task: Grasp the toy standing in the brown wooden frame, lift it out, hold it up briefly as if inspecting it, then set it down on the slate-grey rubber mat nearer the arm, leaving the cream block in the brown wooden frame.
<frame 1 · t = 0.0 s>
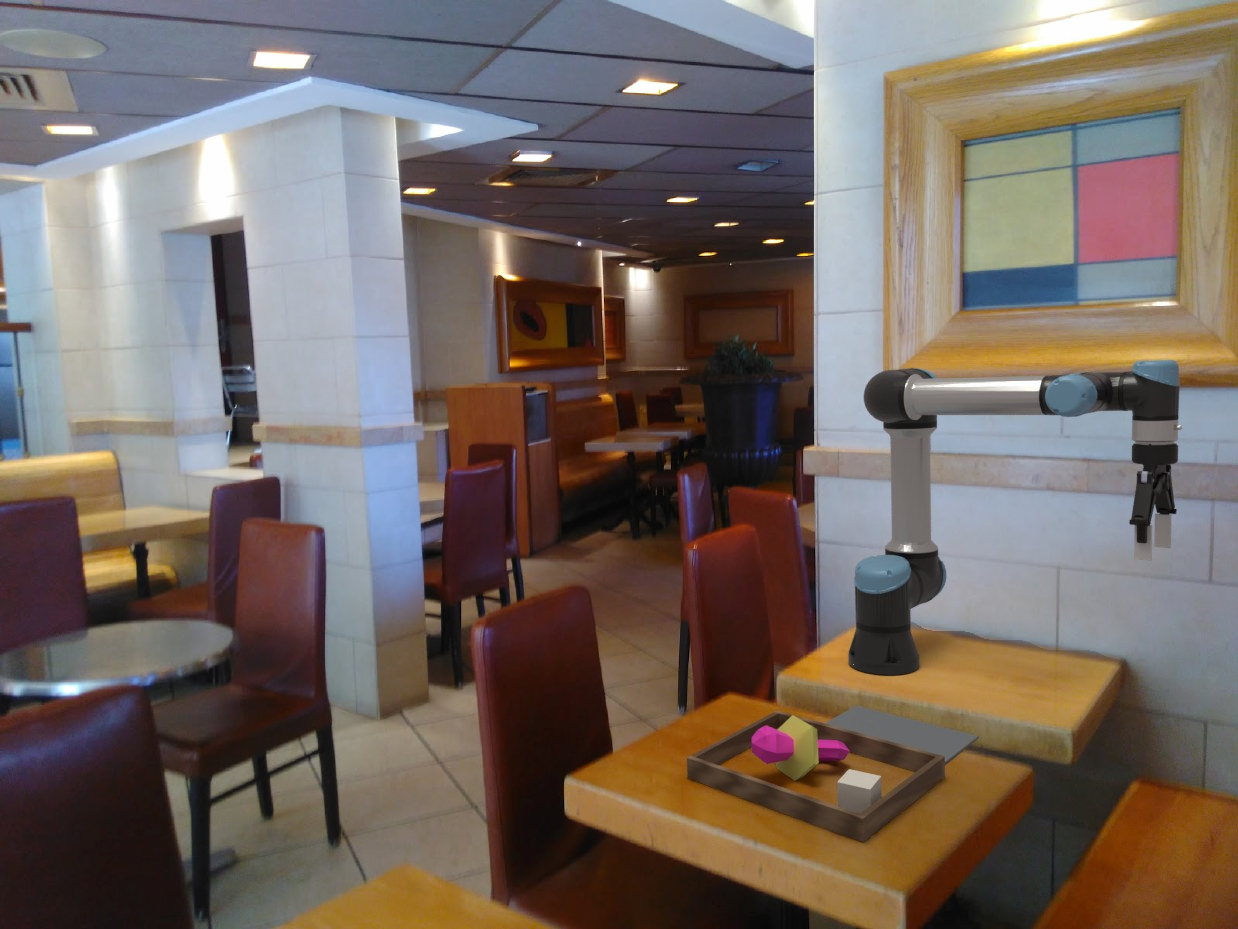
hand: (1153, 553, 172), 28 cm above the table, fingers open, 13 cm apart
cream block: (859, 811, 135), on the table
mat: (891, 737, 161), on the table
brown wooden frame: (814, 777, 147), on the table
toy: (798, 774, 149), on the table
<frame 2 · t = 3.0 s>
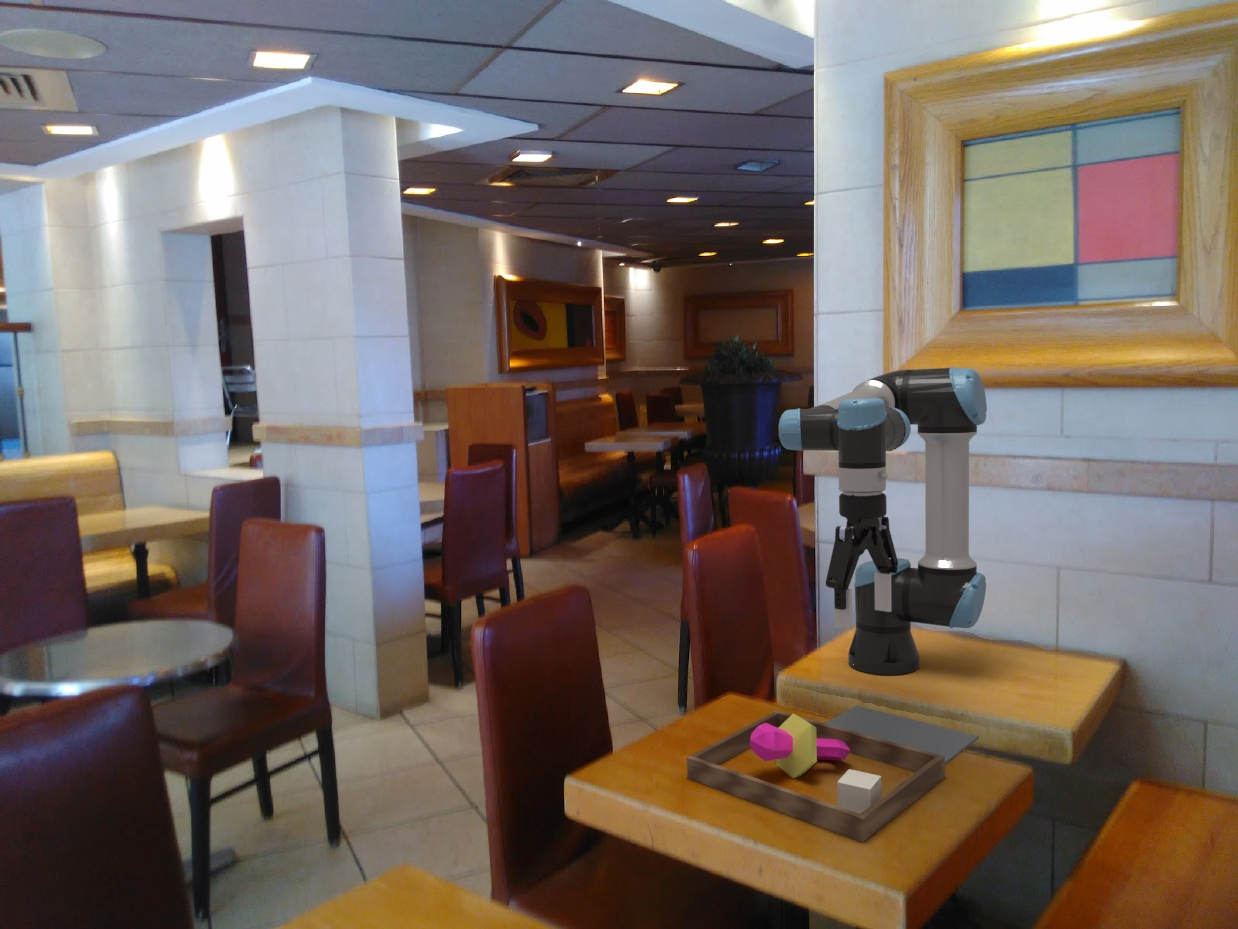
hand: (863, 619, 150), 24 cm above the table, fingers open, 13 cm apart
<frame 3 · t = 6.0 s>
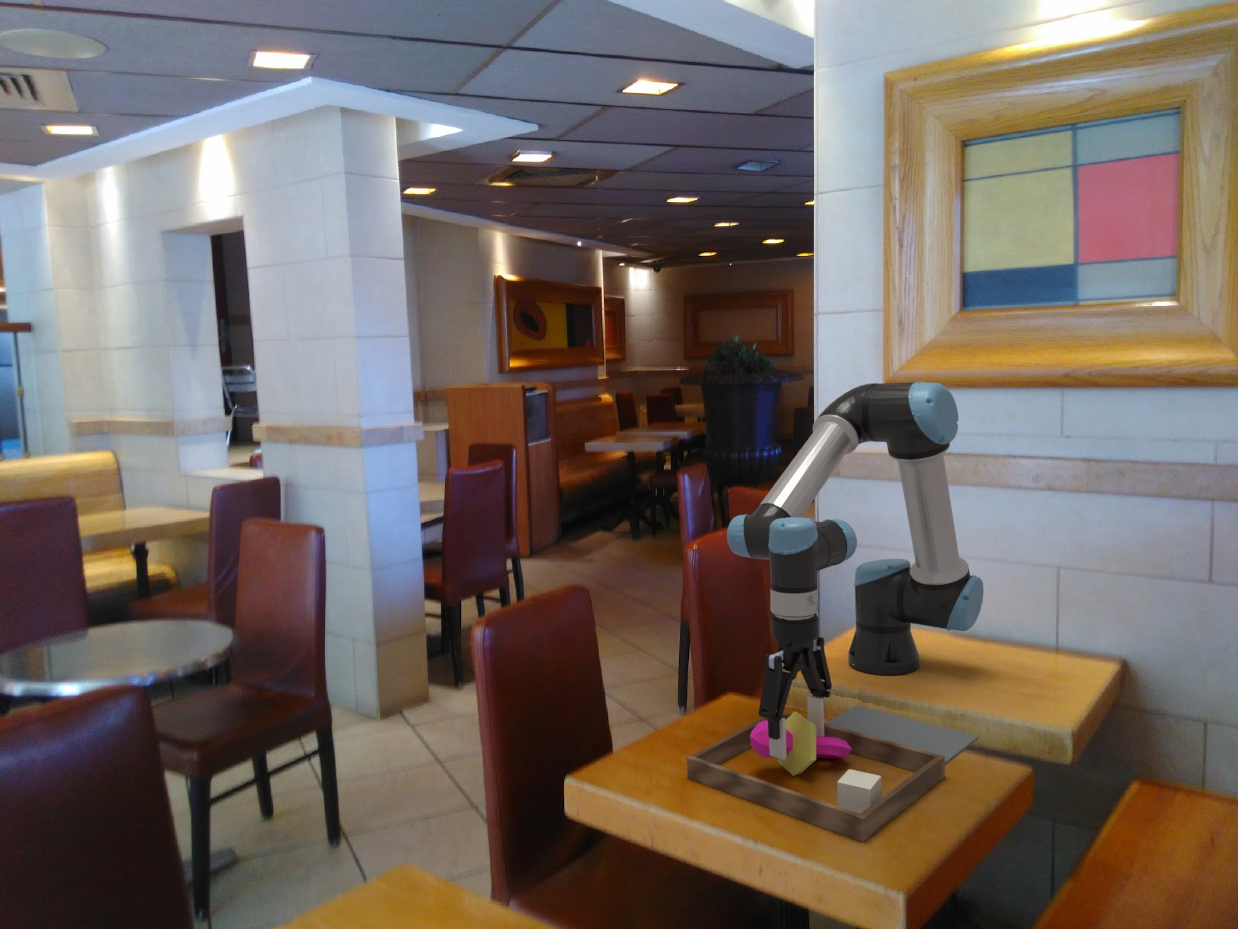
hand: (797, 745, 148), 5 cm above the table, fingers closed on toy, 10 cm apart
toy: (799, 769, 150), on the table, touching gripper
everything else where it was.
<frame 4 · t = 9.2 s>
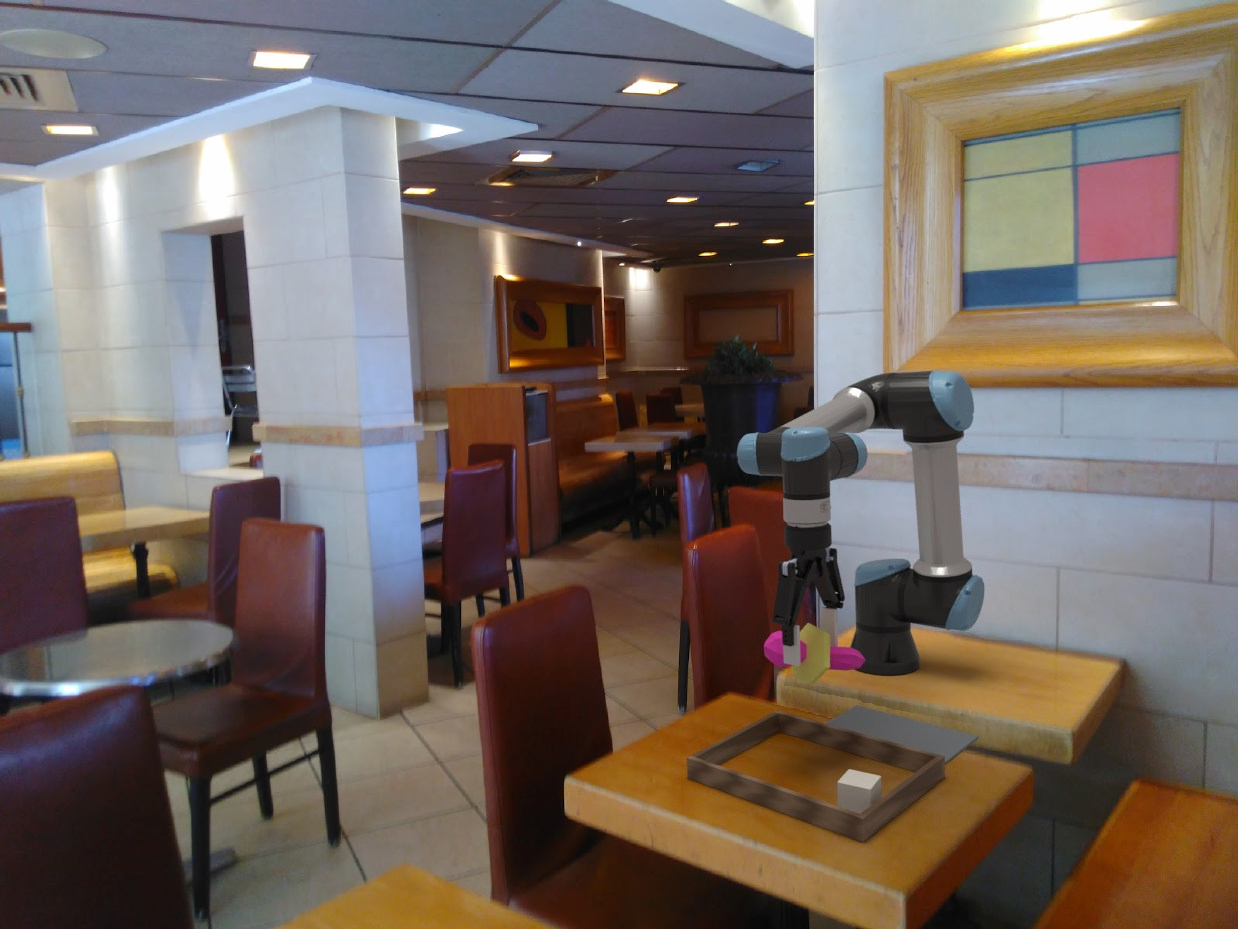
hand: (811, 654, 149), 19 cm above the table, fingers closed on toy, 10 cm apart
toy: (812, 680, 151), point 14 cm above the table, touching gripper
everything else where it was.
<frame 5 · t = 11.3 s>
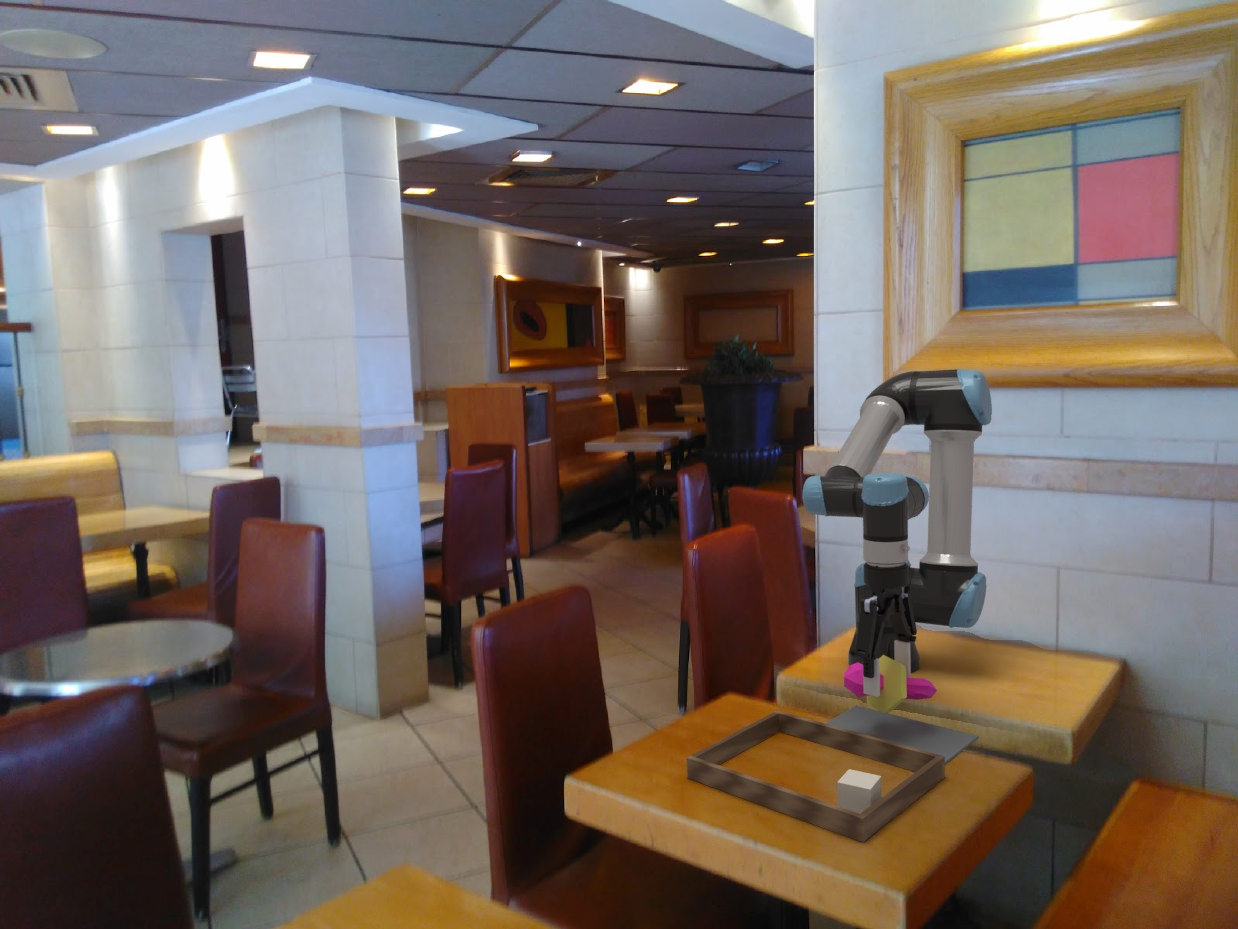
hand: (887, 685, 159), 10 cm above the table, fingers closed on toy, 10 cm apart
toy: (888, 708, 161), point 5 cm above the table, touching gripper
everything else where it was.
when the fingers open (7 cm above the table, at t = 12.5 s): toy drops 2 cm, resting on mat.
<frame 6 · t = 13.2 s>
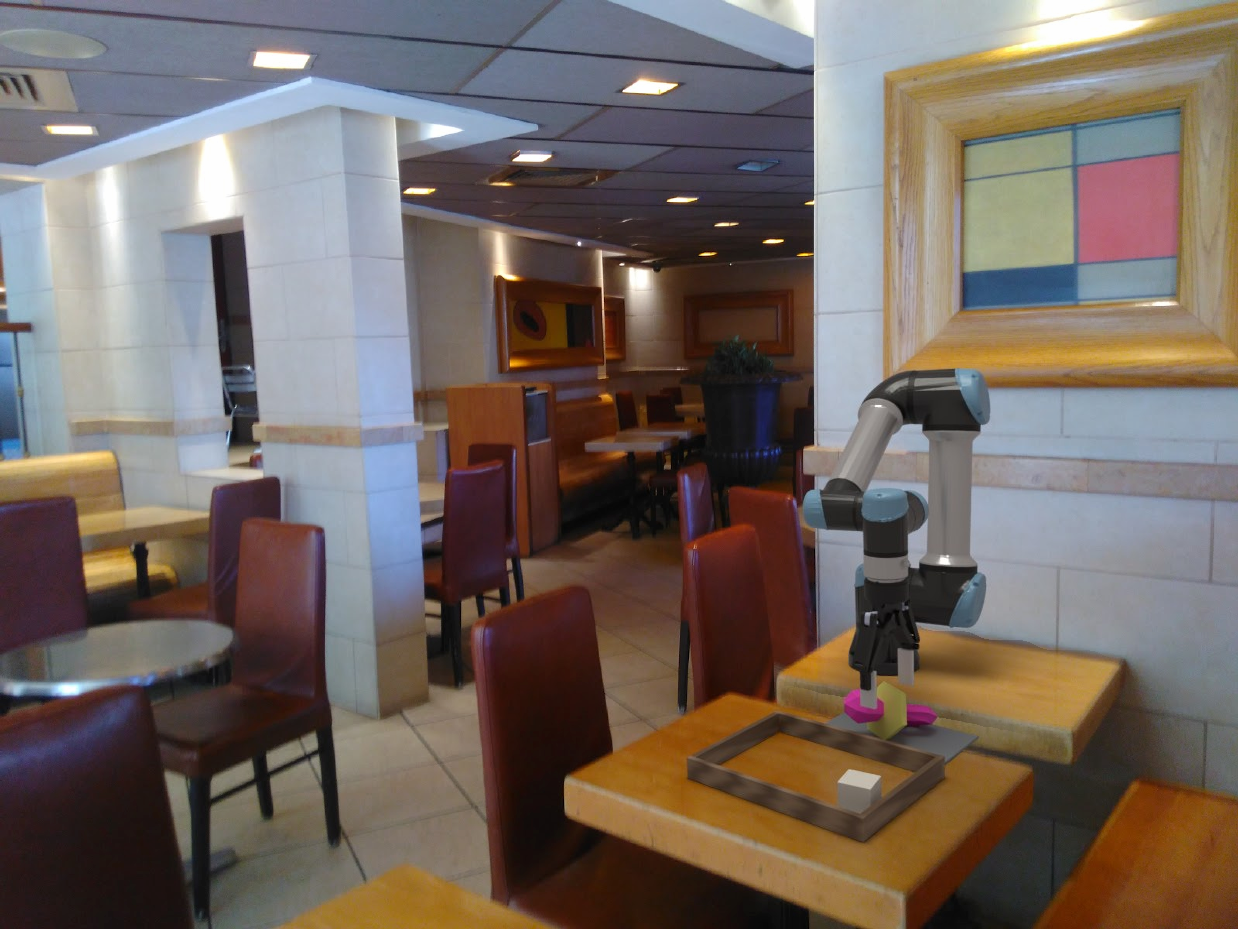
hand: (888, 695, 159), 8 cm above the table, fingers open, 13 cm apart
toy: (888, 735, 162), resting on mat
everything else where it was.
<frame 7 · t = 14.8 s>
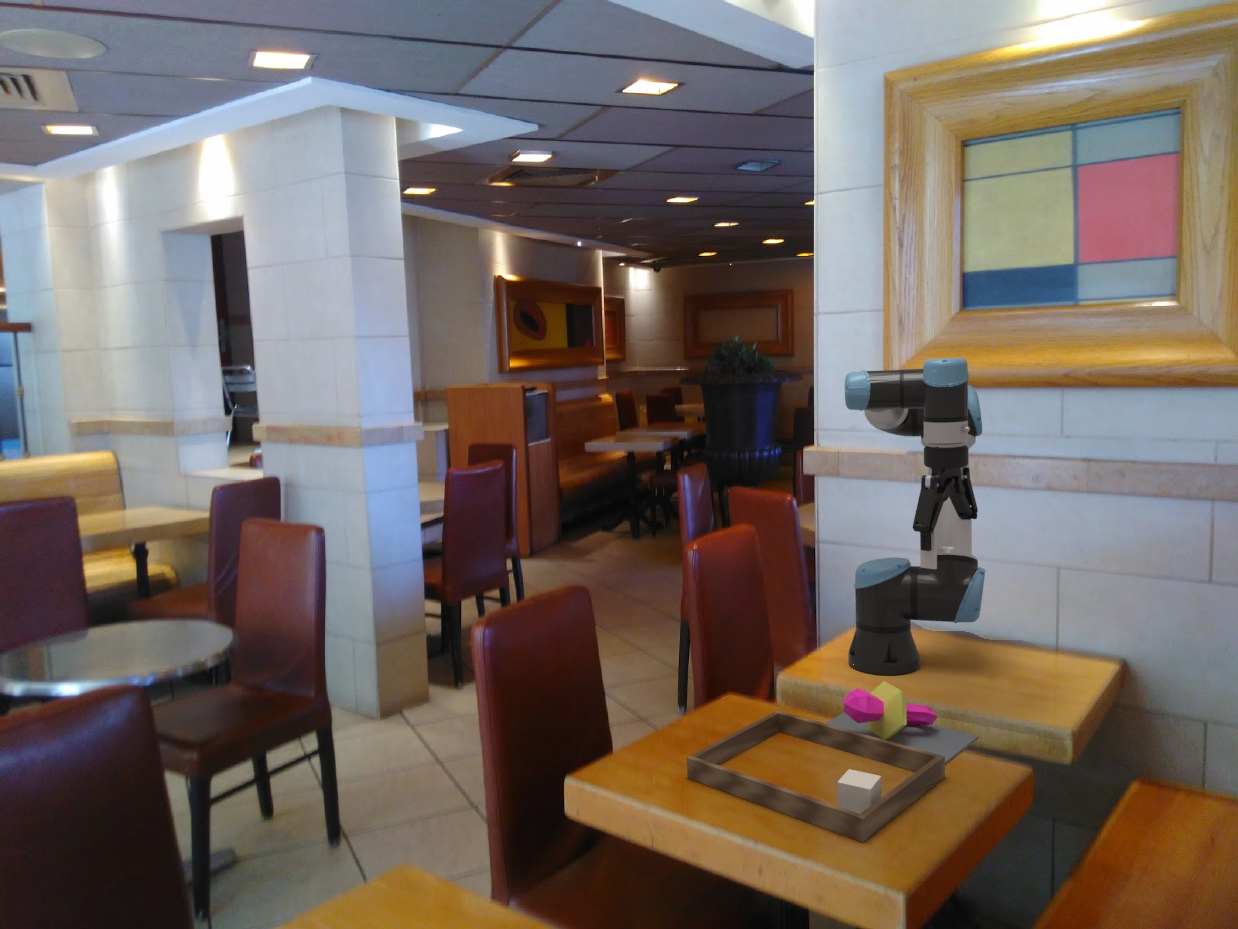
hand: (946, 560, 164), 30 cm above the table, fingers open, 13 cm apart
nothing on the table moved.
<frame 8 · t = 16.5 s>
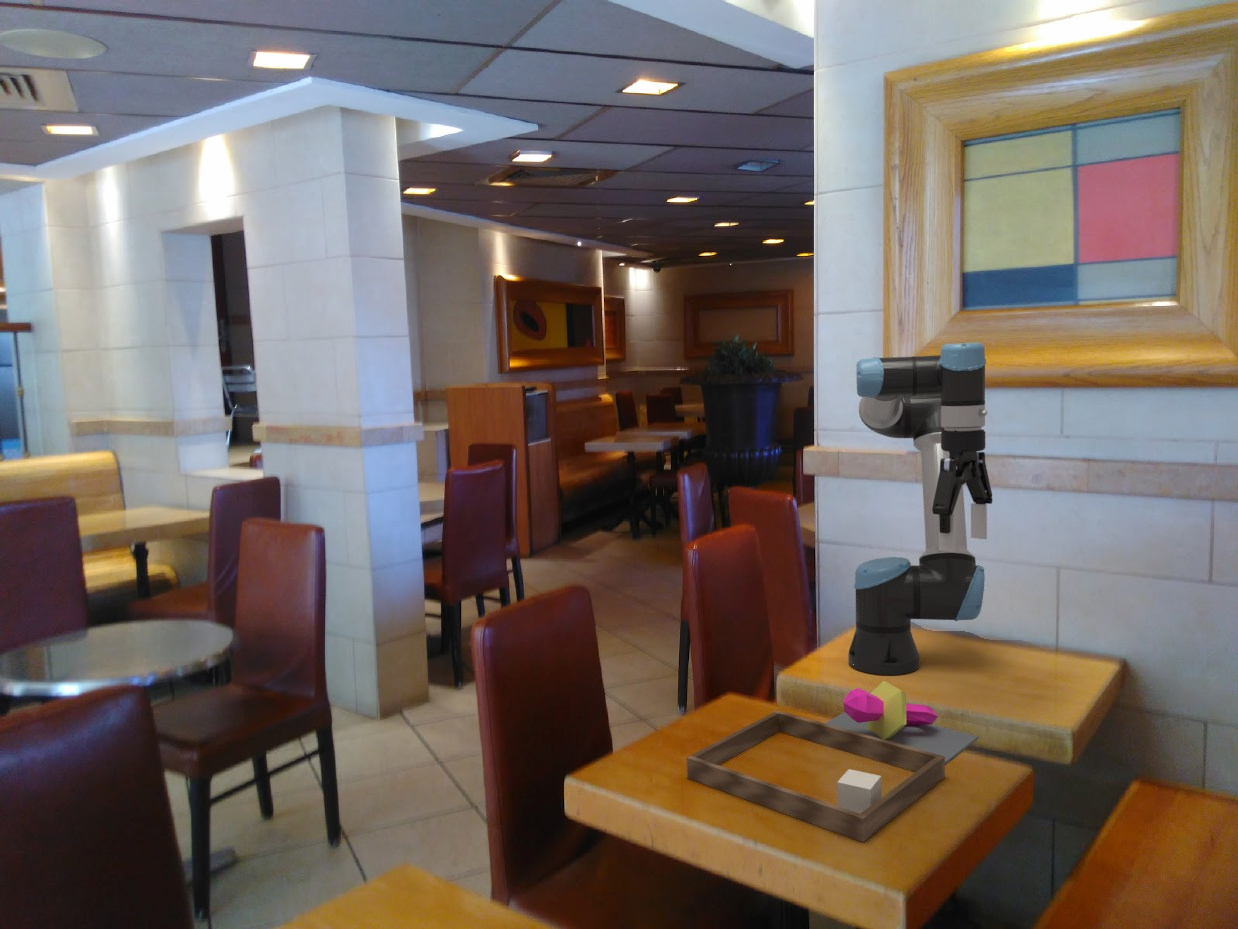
hand: (963, 544, 165), 33 cm above the table, fingers open, 13 cm apart
nothing on the table moved.
at the end: toy inside the target area on the mat (0.9 cm from its centre), point 0.2 cm above the mat's base; toy on the table; the gripper is holding nothing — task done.
